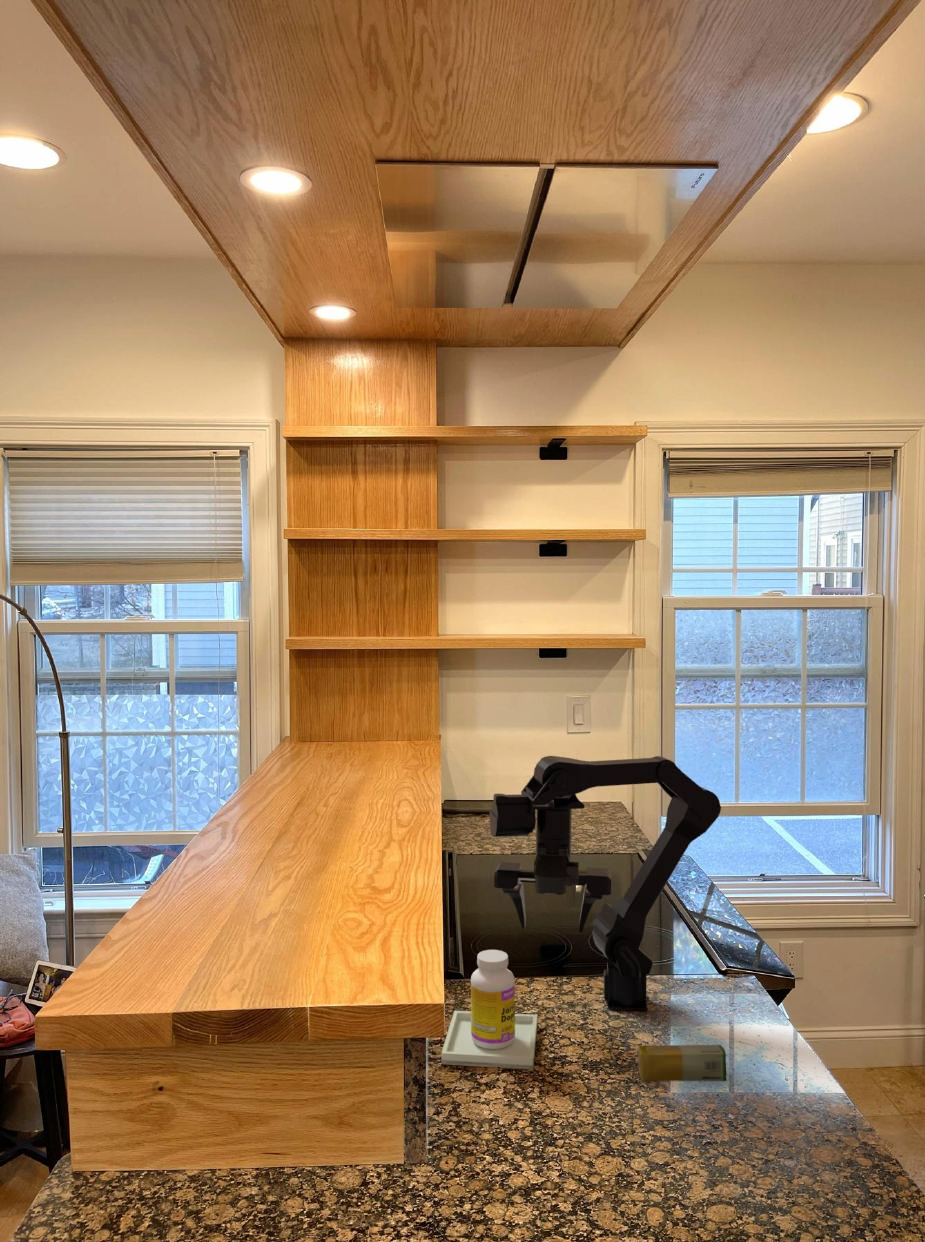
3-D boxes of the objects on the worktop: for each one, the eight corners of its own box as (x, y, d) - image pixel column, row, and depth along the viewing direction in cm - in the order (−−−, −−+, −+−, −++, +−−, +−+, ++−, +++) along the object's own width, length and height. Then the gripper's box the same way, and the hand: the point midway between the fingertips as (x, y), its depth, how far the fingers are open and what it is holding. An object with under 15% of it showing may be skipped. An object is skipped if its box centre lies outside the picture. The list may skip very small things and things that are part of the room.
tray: (537, 1024, 137) (537, 1014, 137) (532, 1069, 124) (532, 1058, 123) (454, 1020, 138) (454, 1010, 138) (441, 1064, 125) (441, 1053, 125)
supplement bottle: (504, 1055, 126) (503, 968, 126) (463, 1045, 129) (462, 960, 129) (522, 1034, 132) (521, 951, 132) (482, 1025, 135) (481, 944, 135)
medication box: (722, 1071, 123) (722, 1043, 123) (728, 1081, 120) (727, 1052, 120) (637, 1072, 123) (637, 1043, 123) (641, 1082, 120) (640, 1053, 120)
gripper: (490, 844, 135) (488, 944, 135) (612, 851, 132) (610, 954, 132) (498, 827, 146) (497, 920, 146) (611, 833, 143) (609, 928, 143)
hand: (551, 930), depth 141 cm, fingers open, 9 cm apart
